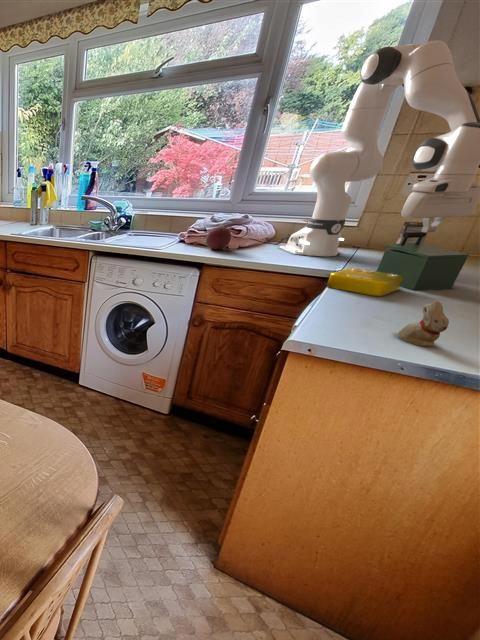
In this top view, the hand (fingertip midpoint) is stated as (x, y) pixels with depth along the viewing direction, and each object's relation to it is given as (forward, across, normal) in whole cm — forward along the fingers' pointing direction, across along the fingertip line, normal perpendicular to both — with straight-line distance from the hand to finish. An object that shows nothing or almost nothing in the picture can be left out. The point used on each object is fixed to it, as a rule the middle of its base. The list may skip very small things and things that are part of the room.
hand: (427, 232), depth 138 cm
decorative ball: (+17, +30, -62) cm, 71 cm away
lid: (+6, 0, +2) cm, 6 cm away
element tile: (+16, +20, +5) cm, 26 cm away
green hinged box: (+16, 0, +2) cm, 16 cm away
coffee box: (+16, -12, -16) cm, 26 cm away
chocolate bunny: (+15, +44, +48) cm, 67 cm away
